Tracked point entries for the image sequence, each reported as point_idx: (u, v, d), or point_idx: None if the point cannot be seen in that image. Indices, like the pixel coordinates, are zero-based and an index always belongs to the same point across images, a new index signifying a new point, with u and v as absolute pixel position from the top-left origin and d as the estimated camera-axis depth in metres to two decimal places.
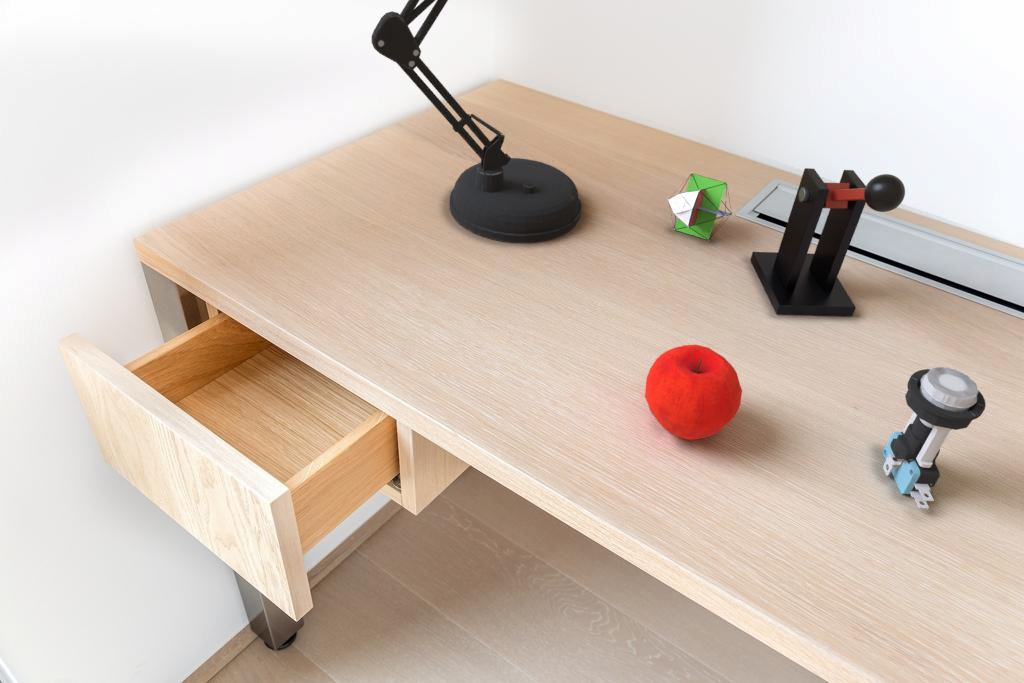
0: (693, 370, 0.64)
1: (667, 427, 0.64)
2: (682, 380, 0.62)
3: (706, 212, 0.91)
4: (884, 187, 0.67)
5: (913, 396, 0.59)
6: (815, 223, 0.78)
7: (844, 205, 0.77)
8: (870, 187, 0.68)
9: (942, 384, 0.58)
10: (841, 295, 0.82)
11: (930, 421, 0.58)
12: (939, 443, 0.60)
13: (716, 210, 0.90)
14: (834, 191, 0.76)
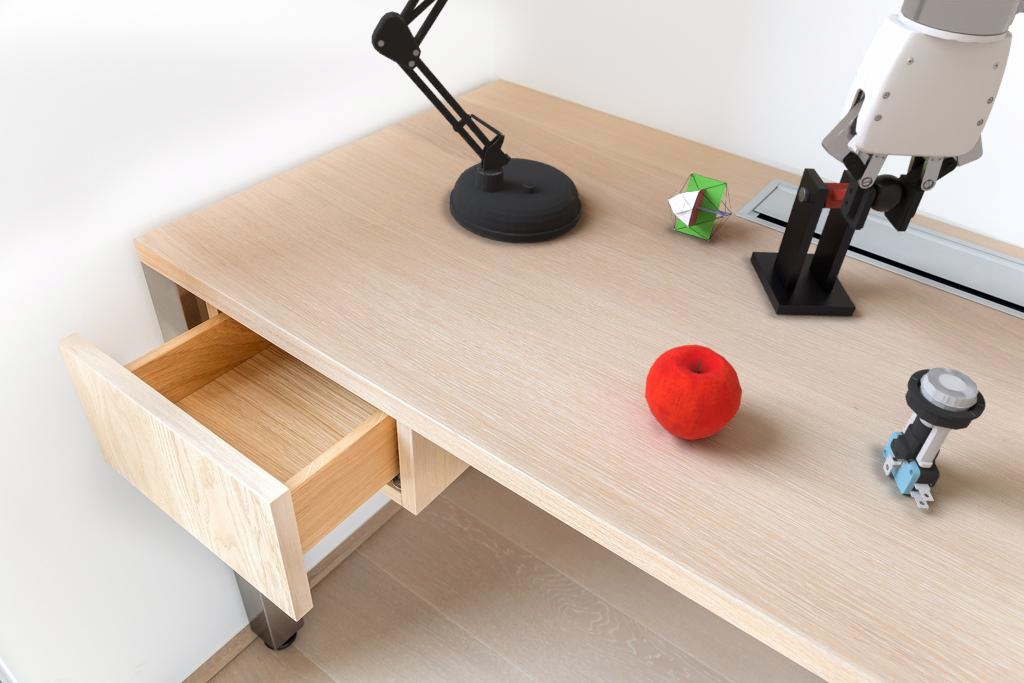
0: (693, 370, 0.64)
1: (667, 427, 0.64)
2: (682, 380, 0.62)
3: (706, 212, 0.91)
4: (884, 187, 0.67)
5: (913, 396, 0.59)
6: (815, 223, 0.78)
7: None
8: None
9: (942, 384, 0.58)
10: (841, 295, 0.82)
11: (930, 421, 0.58)
12: (939, 443, 0.60)
13: (716, 210, 0.90)
14: (834, 191, 0.76)
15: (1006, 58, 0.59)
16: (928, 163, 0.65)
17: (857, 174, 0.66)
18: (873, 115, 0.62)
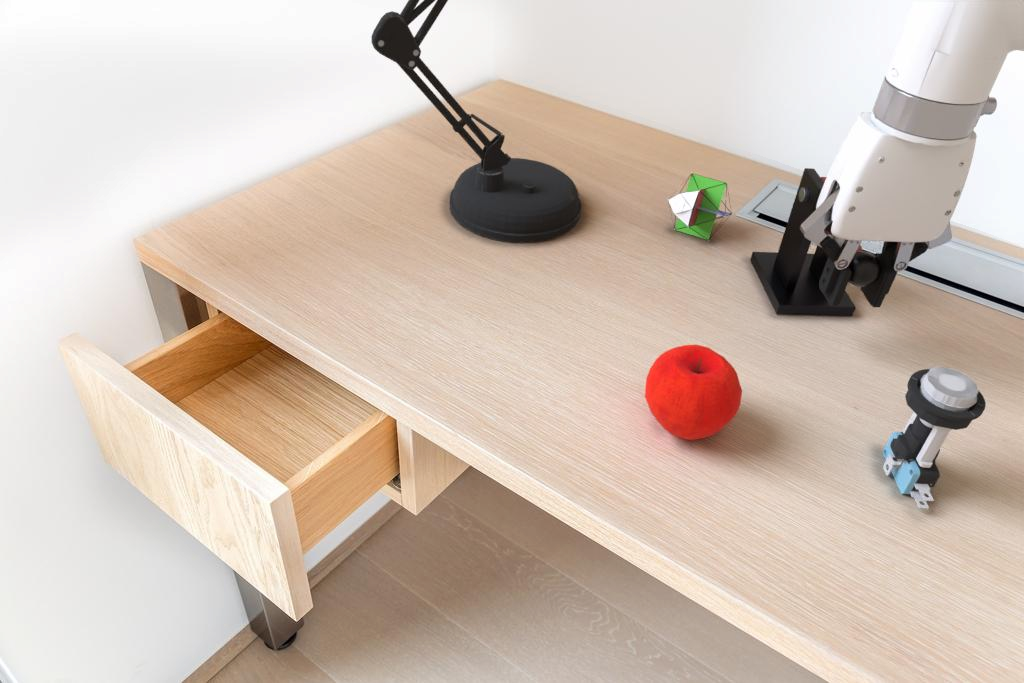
0: (693, 370, 0.64)
1: (667, 427, 0.64)
2: (682, 380, 0.62)
3: (706, 212, 0.91)
4: (859, 276, 0.71)
5: (913, 396, 0.59)
6: None
7: None
8: None
9: (942, 384, 0.58)
10: None
11: (930, 421, 0.58)
12: (939, 443, 0.60)
13: (716, 210, 0.90)
14: None
15: (971, 156, 0.63)
16: (900, 247, 0.69)
17: (833, 256, 0.70)
18: (847, 206, 0.66)
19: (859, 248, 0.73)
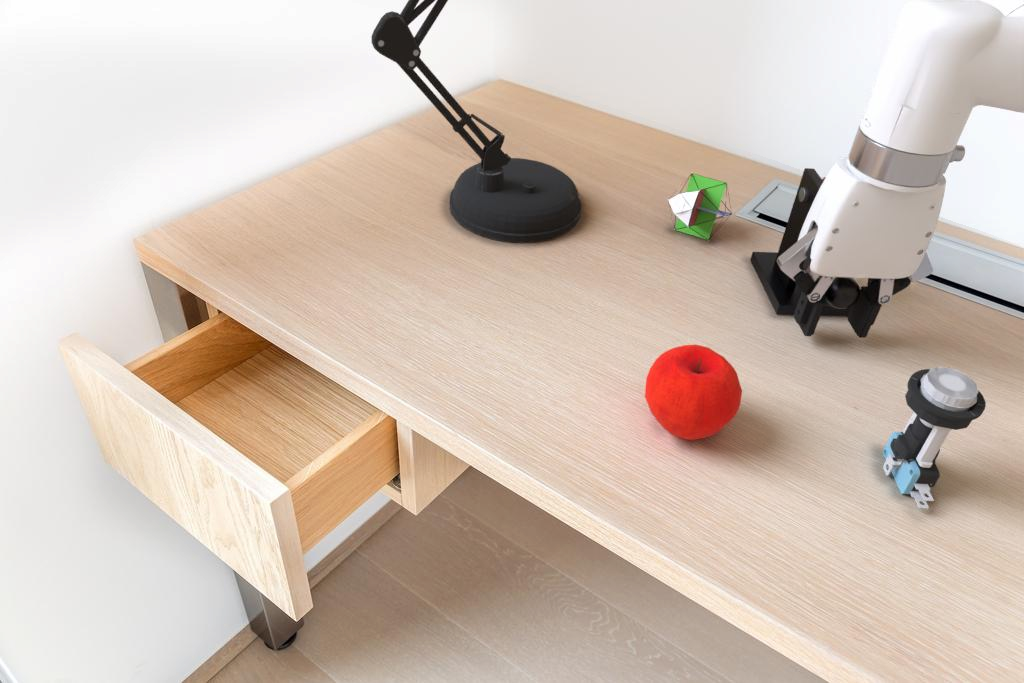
0: (693, 370, 0.64)
1: (667, 427, 0.64)
2: (682, 380, 0.62)
3: (706, 212, 0.91)
4: (837, 303, 0.75)
5: (913, 396, 0.59)
6: None
7: None
8: (829, 294, 0.75)
9: (942, 384, 0.58)
10: None
11: (930, 421, 0.58)
12: (939, 443, 0.60)
13: (716, 210, 0.90)
14: None
15: (941, 201, 0.67)
16: (884, 282, 0.73)
17: (806, 290, 0.74)
18: (825, 246, 0.69)
19: None
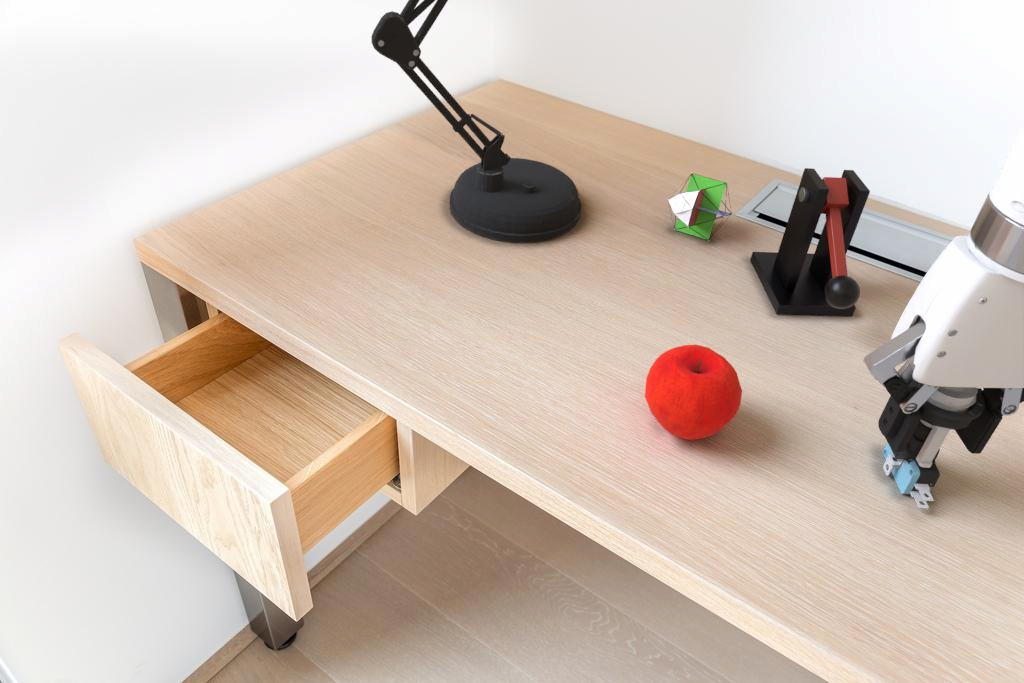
0: (693, 370, 0.64)
1: (667, 427, 0.64)
2: (682, 380, 0.62)
3: (706, 212, 0.91)
4: (837, 303, 0.75)
5: None
6: (815, 223, 0.78)
7: None
8: (829, 294, 0.75)
9: None
10: None
11: (929, 421, 0.58)
12: (939, 443, 0.60)
13: (716, 210, 0.90)
14: (829, 210, 0.77)
15: None
16: (1011, 390, 0.56)
17: (899, 398, 0.57)
18: (936, 351, 0.53)
19: (844, 268, 0.76)
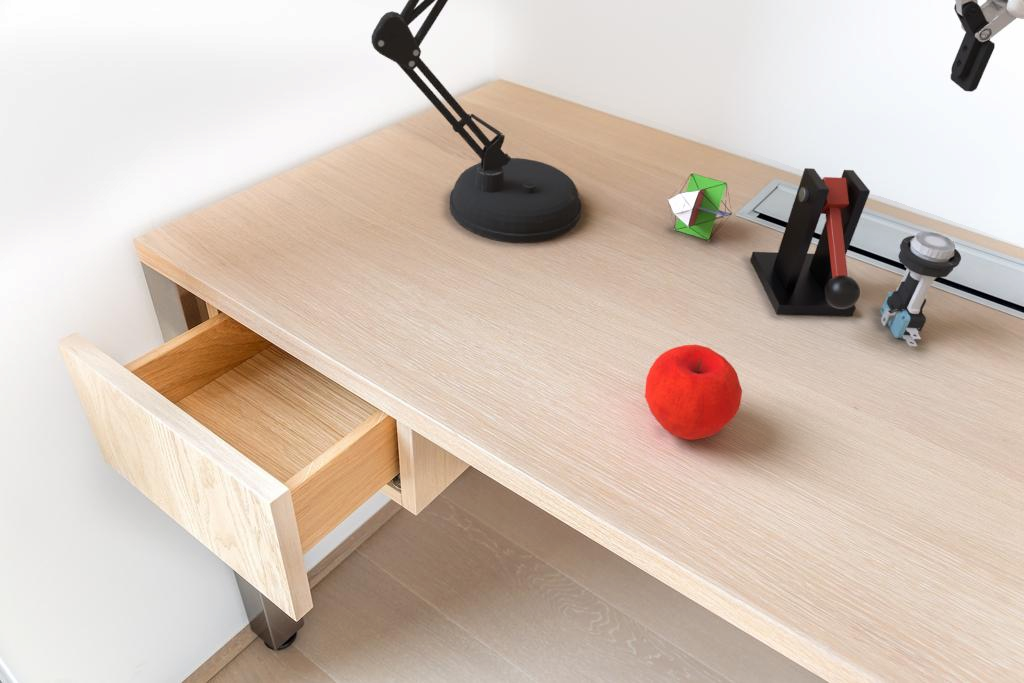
0: (693, 370, 0.64)
1: (667, 427, 0.64)
2: (682, 380, 0.62)
3: (706, 212, 0.91)
4: (837, 303, 0.75)
5: (904, 252, 0.75)
6: (815, 223, 0.78)
7: None
8: (829, 294, 0.75)
9: (927, 242, 0.74)
10: None
11: (917, 271, 0.74)
12: (925, 292, 0.76)
13: (716, 210, 0.90)
14: (829, 210, 0.77)
15: None
16: None
17: (975, 26, 0.63)
18: None
19: (844, 268, 0.76)
